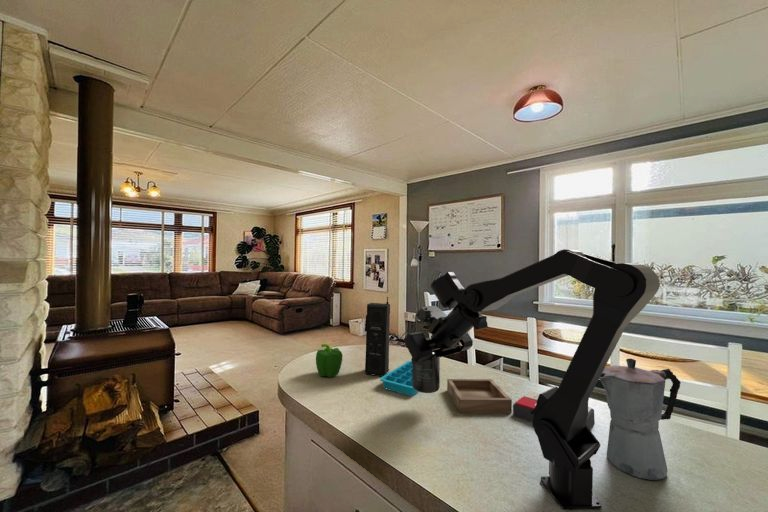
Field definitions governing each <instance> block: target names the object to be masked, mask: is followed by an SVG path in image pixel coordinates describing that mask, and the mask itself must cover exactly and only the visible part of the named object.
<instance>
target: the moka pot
mask: <svg viewBox="0 0 768 512" xmlns="http://www.w3.org/2000/svg"><path fill="white" fill-rule="evenodd" d="M625 361H626V364H627V365H626V366H625V365H614V364H613V365H609V366H605V368H604V370H603V372H602V374H601V376H600V378H599V381H600V382H601V384H602V386H603V389H604V390H605V391H604V392H605V397H606V404H607V407H608V409H609V413H610V414H609V415H610V419H611V420H610V421H609V430H608V439H607V447H606V448H607V449H606V456H607V457H606V458H607V459H608V461H609V463H611V464H612V465H613V466H614V467H615V468H617V469H619V470H620V471H622V472H624V473H626V474H628V475H630V476H633V477H635V478H639V479H645V480H651V481H654V480H656V481H657V480H663V479H665V478H666V477H667V475H668V464H667V461H666V457H665V452H664V447H663V441H662V437H661V433H660V430H659V427H660V426H659V423H660V420H661V421H663V420H670V419H671V416H672V413H673V411H674V407H675V404H676V401H677V400H676V399H677V398H678V393H679V390H680V389H681V388H680V387H681V381H680V380H679V379H678V378H677V376H676V375H675V374H674V372H673V371H672V370H671V369H669V368H666V369H661V370H659V369H651V370H647V369H643V368H639V367H636V363H637V360H636V359H634V358H626V359H625ZM666 380H670V381H671V383H672V385H671V386H670V388H669V398H668V401H667V406H666V409H665V411H664V412H663V405H664V398H665V388H666Z"/></svg>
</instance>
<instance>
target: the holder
mask: <svg viewBox="0 0 768 512" xmlns="http://www.w3.org/2000/svg"><path fill="white" fill-rule="evenodd" d="M446 381H447V383H446V384H447V385H446V387H447V389H446V391H447V393H448V394H449V396H450V398H451V399H452V402H453V403H454V405H455V407H456V409H457V410H458V412H459V413H460V414H480V413H481V414H512V413H513V399H512V398H511V397H510V396H509V395H508V394H507V393H506V392H505V391H504V390H503V389H502V388H501V387H500V386H499V385H498V384H497V383H496V382H495V381H494V380H493V379H492V378H487V379H483V378H447V380H446Z"/></svg>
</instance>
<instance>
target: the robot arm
mask: <svg viewBox="0 0 768 512" xmlns="http://www.w3.org/2000/svg"><path fill="white" fill-rule="evenodd" d="M568 276H569V277H571V278H573V279H574V280H576V281H578V282H580V283H582V284H585V285H586V286H589V287H592V288H594V292H593V296H592V314H591V315H592V316H591V319H590V320H589V323H588V325H587V327H586V329H585V330H584V333H583V335H582V337H581V339H580V341H579V344H578V346H577V347H576V349H575V352H574V353H573V356H572V358H571V361H570V363H569V365H568V367H567V369H566V370H565V374H564V375H563V377H562V379H561V381H560V384H559V385H558V386H553V387H551V388H550V389H547V390H545V391H543V392H541V393H540V394H539V397H538V399H537V404H536V407H535V408H534V410H532V411H531V412H530V413H531V414H533V415H534V416H533V418H532V422H531V427H532V428H533V430H534V432H535V435H536V437H537V439H538V443H539V445H540V451H541V452H542V456H543V458H544V459H545V460H547V461H548V476H547V475H546V476H543V475H542V476H540V482H541V483H542V484H543V485H544V487H545V488H546V490H547V491H548V492H549V494H550V495H551V496H552V498H553V499H554V500H555V501H556V502H557V504H558V506H559V507H560V508H561V509H563V510H575V509H576V510H579V509H580V510H585V509H589V510H590V509H591V510H592V509H593V510H595V509H597V510H599V509H603V508H602V507H603V506H602V505H603V504H602V503H601V501H599V500H598V498H596V496H595V495H594V494H593V483H594V477H593V475H594V474H593V473H594V467H593V466H592V461H591V458H592V457H593V456H595V455H596V454H598V451H599V449H600V448H601V443H600V441H599V440H598V439H597V437H596V436H595V435H594V433H593V432H592V430H591V431H590V430H589V428H588V427H587V426H586V420H587V416H588V407H589V399H590V397H591V395H592V393H593V391H594V389H595V387H596V385H597V383H598V382H599V381H600V379H599V378H600V376H601V374H602V372H603V370H604V368H605V367H607V364H608V362H609V360H610V358H611V356H612V355H613V352H614V350H615V349H616V346H617V344H618V343H619V341H620V339H621V337H622V335H623V333H624V331H625V329H626V327H627V325H629V324H630V322H632V321H633V320H634V319H635V318H636V317H637V316H638V314H640V313H641V312H642V311H643V309H645V307H646V306H647V305H648V303H650V302H651V300H652V299H653V298H654V296H656V294H657V293H658V292H659V288H660V284H661V283H660V282H661V281H660V279H659V277H658V275H657V274H656V272H655V271H654V270H653V269H652V268H651V267H649V266H647V265H645V264H642V263H635V262H633V263H626V262H625V263H621V262H620V263H617V262H615V261H611V260H608V259H603V258H600V257H598V256H594V255H591V254H587V253H584V252H582V251H580V250H577V249H560V250H558V251H556V252H555V253H554V254H553V255H550V256H548V257H545V258H543V259H541V260H538V261H536V262H535V263H532V264H530V265H528V266H526V267H523V268H521V269H519V270H515V271H514V272H512V273H509V274H508V275H505V276H503V277H500V278H496V279H490V280H484V281H480V282H476V283H475V282H474V283H471V284H469V285H468V286H466V287H465V288H464V286H463V285H462V284H461V282H460V280H459V279H458V278H457V275H456V274H455V273H454V271H447V272H446V273H445V274H444V275H441V276H440V277H438V278H436V279H435V280H433V281H432V282H431V284H430V287H429V288H430V289H431V291H432V292H433V294H434V296H435V298H437V300H438V302H439V303H440V305H441V307H442V308H444V309H445V308H447V309H450V310H451V309H452V310H451V311H449V313H448V314H447V313H445V312H444V311H443V310H442V309H440V308H439V306H436V305H427V306H423V307H420V309H419V310H417V312H416V319H418V320H419V322H421V323H422V324H425V325H427V326H428V328H427V331H428V333H429V334H431V335H430V338H431V339H430V340H426V338H427V337H426V336H425V335H424V334H425V333H423V332H421V331H415V332H409V333H407V334H406V335H405V337H404V338H403V342H404V344H405V346H406V348H407V350H408V352H409V354H410V356H411V360H410V361H412V363H413V364H416V363H420V362H423V361H427V360H430V359H431V356H432V350H436V351H438V353H439V355H440V358H442V357H447V356H451V355H454V354H455V355H456V354H458V353H461V352H463V351H467V350H470V349H471V348H472V347H473V345H474V344H473V342H474V339H473V338H472V337H471V336H470V334H469V331H471V330H472V329H473V328H474V329H475V330H476V331H480V330H484V329H487V328H488V327H489V325H488V324H489V323H488V321H487V318H488V317H487V316H486V315H482V313H481V312H485V311H486V312H487V311H495V310H498V309H499V308H500V307H502V306H504V305H506V304H507V303H509V301H511V299H513V298H515V296H517V295H520V294H523V293H526V292H528V291H530V290H533V289H537V288H538V287H541V286H544V285H547V284H550V283H552V282H554V281H557V280H560V279H563V278H565V277H568ZM460 346H461V347H460Z"/></svg>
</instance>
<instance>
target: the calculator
mask: <svg viewBox="0 0 768 512" xmlns="http://www.w3.org/2000/svg"><path fill="white" fill-rule="evenodd" d="M539 394H541V393H539V392H536V391H531V390H530V391H528V392H527V393H526V394H525V395H523V396H522V397H521V398H519V399H518V400H517V401H515V402H514V403H512V413H513V414H512V415H513V417H516V418H519V419H522V420H524V421H527V422H530V423H532V418H533V416H534V415H533V414H531V413H530V412H531V411H532V410H534V408H535V407H536V404H537V399H538V397H539ZM595 423H596V421H595V409H594V408H592V407H591V406H588V416H587V420H586V426H587V427H588V428H589V430H591V431H592V429H593V428H594V426H595Z"/></svg>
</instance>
